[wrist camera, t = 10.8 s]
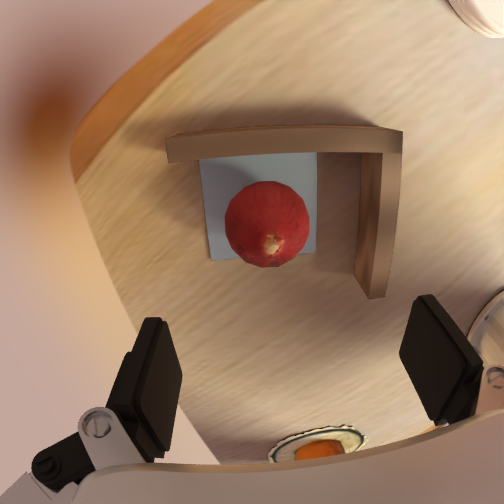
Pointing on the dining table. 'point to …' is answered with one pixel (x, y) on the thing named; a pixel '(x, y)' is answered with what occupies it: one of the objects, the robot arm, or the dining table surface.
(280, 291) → the dining table surface
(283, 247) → the onion
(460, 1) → the coaster
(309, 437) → the decorative vase
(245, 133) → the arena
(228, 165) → the pad
